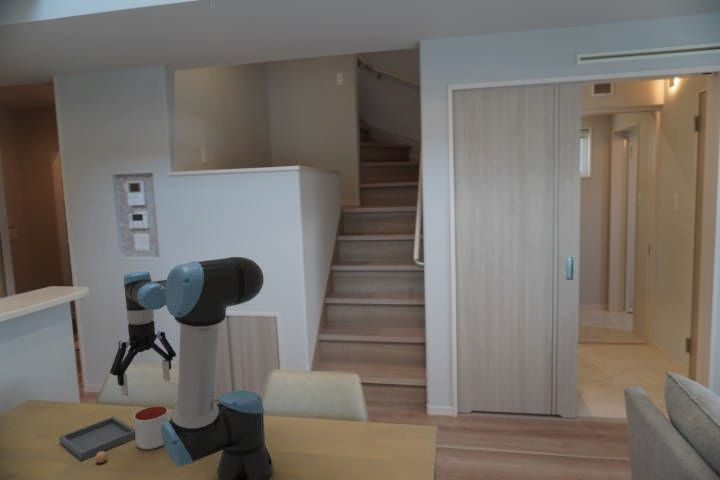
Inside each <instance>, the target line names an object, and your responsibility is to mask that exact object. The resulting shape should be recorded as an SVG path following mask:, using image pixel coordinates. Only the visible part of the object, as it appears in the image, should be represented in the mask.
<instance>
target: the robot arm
mask: <svg viewBox="0 0 720 480" xmlns="http://www.w3.org/2000/svg"><path fill="white" fill-rule="evenodd" d="M264 281H265V279H264V273H263V270H262V267H260V265H258V263H256V262H255V261H254V260H253V259H250V258H247V257H242V256H230V257H225V258H224V257H223V258H216V259H210V260H200V261H196V260H195V261H190V262H187V263H181V264H177V265H175V266H174V267H173V268H172V269H171V270H170V271H169V273H168V275H167V278H166V279H161V280H155V281H154V280H153V281H152V277H151V273H150V272H149V271H145V270H144V271H143V270H142V271H132V272H128V273H125V275H124V276H123V287H124V296H125V297H124V298H125V307H126V319H127V320H126V321H127V323H128V324H127V329H128V330H127V331H128V336H129V337H128V340H126V341H122V340H120V341H118V349H117V351H116V354H115V357H114V360H113V362H112V366H111V368H110V370H109V374H111V375H112V376H116V378H117V379H116V380H117V384H118V386H120V389H121V395H122V396H125V397H128V396H129V385H128V377H127V376H128V375H127V374H126V371H127V370H128V368H129V366H130V365H131V363H132V362H133V360H134V358H135V357H136V356H137V355H138V353H142V352H143V353H144V351H150V350H151V349H152V350H154V351H155V353H156V354H158V355H160V356H161V357H162V358H163V359H162V360H161V364H162V365H161V366H162V375H163V376H162V379H163V380H164V381H166V382H170V381H171V374H170V370H172V361H173V359H174V358H176V356H177V353H176V352H175V350H174V349H173V347H172V345H171V344H170V342H169V340H168V339H167V337H166V332H164V331H162V330H158V331H157V332H156V328H155V320H154V319H155V314H154V313H155V312H154V311H156V310H160V309H162V308H163V307H165V306H166V309H167V312H169V314H170V315H171V316H172V317H173V318H174V320H175V322H176V323H177V324H179V325H180V337H179V360H178V383H177V384H178V388H177V403H176V404H174V406H173V407H172V408H171V411H170V420H169V421H166V422H164V423H163V424H162V426H161V433H162V438H163V442H164V445H163V446H164V447H165V450H166V453H167V456H168V457H169V459H170V460H171V462H172V463H173V464H174V465H175V466H177V467H183V466H187V465H189V464H193V463H194V462H197V461H199V460H201V459H204V458H206V457H209V456H211V455H214V454H217V453H218V452H221V456H220V460H219V463H218V467H217V471H216V474H217V475H216V476H217V478H216V479H217V480H268V479H269V478H270V477H271V476H272V474H273V469H274V468H273V459H272V458H271V454H270V452H269V450H268V448H267V446H266V441H265V439H266V438H265V420H264V412H265V409H264V405H263V404H264V403H263V399H262V397H261V396H260V395H259V394H258V393H256V392H254V391H252V390H244V389H243V390H241V389H237V390H230V391H226V392H224V393H221V395H220V396H219V397H218V401H217V402H218V403H216V402H215V401H214V398H215V383H216V367H217V356H218V355H217V352H218V341H219V340H218V339H219V338H218V337H219V326H220V324H223V322H224V321H225V320H226V317H227V315H226V314H227V308H229V307H232V306H233V307H234V306H236V305H241V304H244V303H247V302H249V301H251V300H253V299H255V297H257V295H258V294H260V292H261V290H262V288H263V285H264ZM155 332H156V333H155ZM157 339H158V340H159V342H160V343H161V345H162V346H163V348H164V349H165V351H166V352H165V351H164V350H163V349H162V348H161V347H160V346H159V345H158V344H157V343H156V342H155V341H156V340H157ZM129 346H130V347H129ZM128 348H129V349H128ZM127 349H128V352H126V351H127ZM126 353H127V354H126Z"/></svg>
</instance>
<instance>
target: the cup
mask: <svg viewBox="0 0 720 480" xmlns="http://www.w3.org/2000/svg"><path fill="white" fill-rule="evenodd" d="M166 421H169V410H168V407H166V406H164V405H163V406H162V405H161V406H160V405H155V406H149V407H145V408H142V409H140V410H139V411H136V412H135V414H134V415H133V425H134V429H135V437H136V438H135V445H136V446H137V448H139V449H141V450H153V449H154V450H155V449H157V448H160V447H162V446H165V445H164V442H163V438H162V433H161V426H162V424H163V423H164V422H166Z"/></svg>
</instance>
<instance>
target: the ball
mask: <svg viewBox="0 0 720 480" xmlns="http://www.w3.org/2000/svg"><path fill="white" fill-rule="evenodd" d="M94 457H95V458H94V459H95V461H96V463H98V464H101V463H102V464H103V463H104V462H106V461H107V459H108V453H107V451H105V452H104V451H101V452H99V453H97V455H95V456H94Z"/></svg>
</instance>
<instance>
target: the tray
mask: <svg viewBox="0 0 720 480" xmlns="http://www.w3.org/2000/svg"><path fill="white" fill-rule="evenodd" d="M58 438H59V444H60V445H61V446H62V447H63V448H65V449H66V450H67V451H69V453H71V454H72V455H73V456H75V457H76V458H77V459H78V460H80V462H83V461H86V460H88V459H90V458H92V457H96V455H97V453H99V452H101V451H104V452H107V451H110V450H112V449H114V448H116V447H119V446H122V445H124V444H126V443H128V442H130V441H133V440H136V437H135V428H134V427H132V426H130V425H129V424H127V423H125V422H123V421H122V420H120V419H119V418H117V417H115V416H110V417H108V418H105V419H103V420H100V421H97V422H95V423H92V424H89V425H87V426H85V427H81V428H78V429H76V430H73V431H71V432H68V433H66V434H63V435H60V436H59V437H58Z"/></svg>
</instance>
